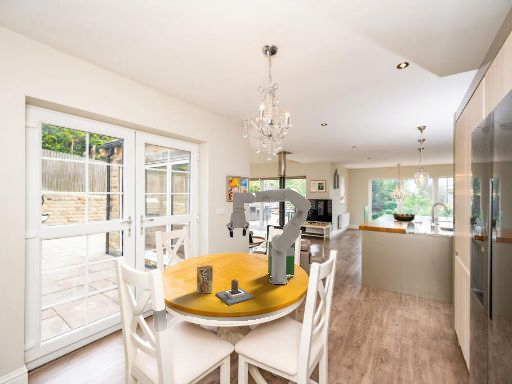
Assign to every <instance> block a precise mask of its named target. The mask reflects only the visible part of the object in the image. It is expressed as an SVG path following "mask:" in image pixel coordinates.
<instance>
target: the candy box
mask: <svg viewBox="0 0 512 384" xmlns="http://www.w3.org/2000/svg"><path fill="white" fill-rule="evenodd" d="M213 276H214V265H212V264H211V265H210V264H209V265H205V264H204V265H202V264H201V265H198V266H197V268H196V294H212V292H213V286H214V285H213V283H214V281H213V278H214V277H213Z"/></svg>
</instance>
